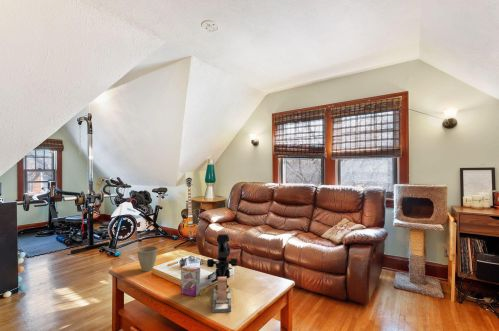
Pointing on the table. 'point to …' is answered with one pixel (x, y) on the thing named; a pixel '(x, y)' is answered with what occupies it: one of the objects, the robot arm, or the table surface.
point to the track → (222, 306)
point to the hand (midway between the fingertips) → (222, 276)
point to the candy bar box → (190, 280)
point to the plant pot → (147, 257)
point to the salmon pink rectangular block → (222, 290)
